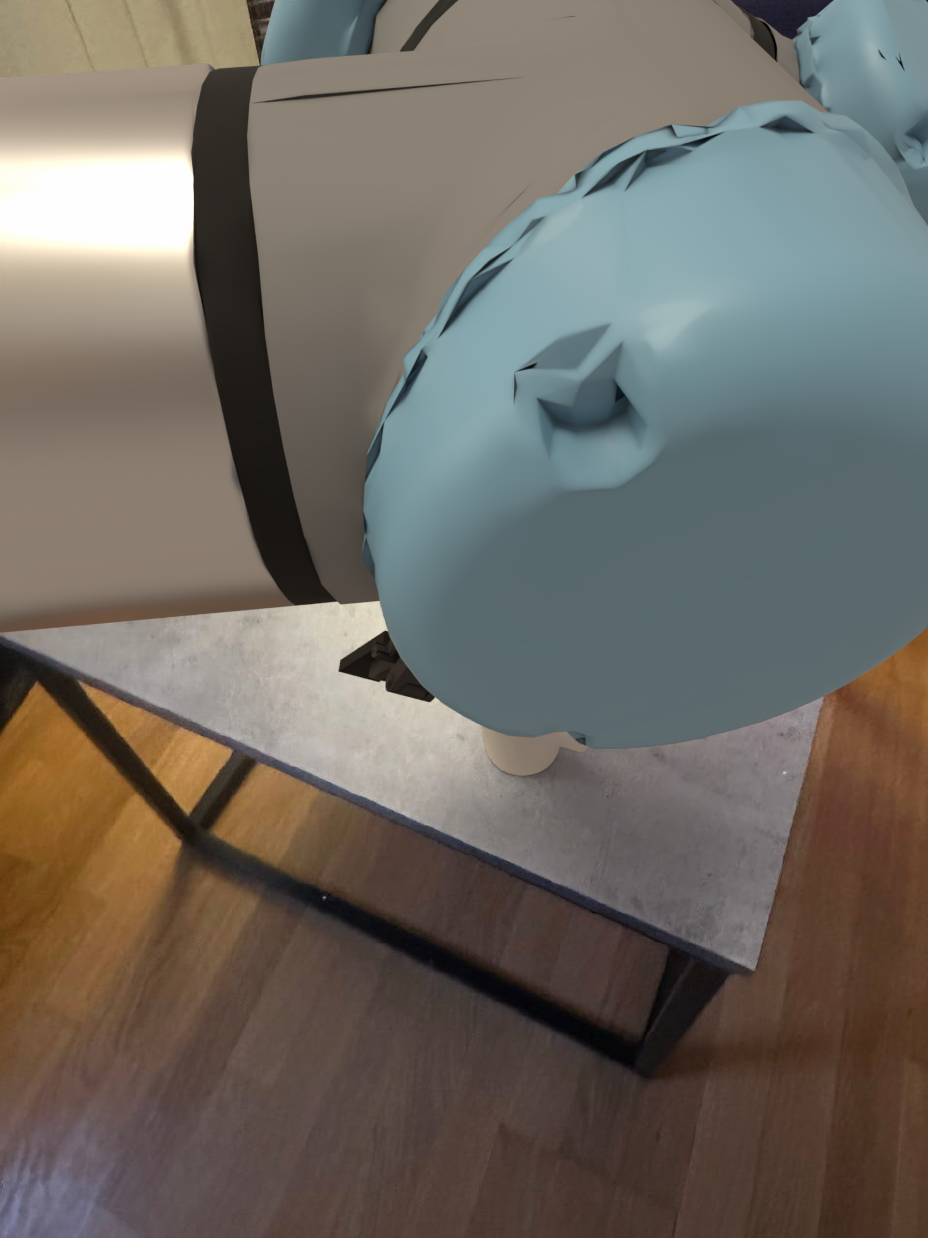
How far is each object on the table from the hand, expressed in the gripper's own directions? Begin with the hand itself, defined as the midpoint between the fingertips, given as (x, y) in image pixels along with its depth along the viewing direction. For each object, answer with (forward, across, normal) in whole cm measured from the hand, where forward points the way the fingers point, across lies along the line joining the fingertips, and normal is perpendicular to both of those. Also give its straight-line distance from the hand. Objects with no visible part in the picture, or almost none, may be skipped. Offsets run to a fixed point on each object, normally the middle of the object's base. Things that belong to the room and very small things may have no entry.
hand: (375, 572), depth 49 cm
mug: (+8, -6, -20) cm, 22 cm away
